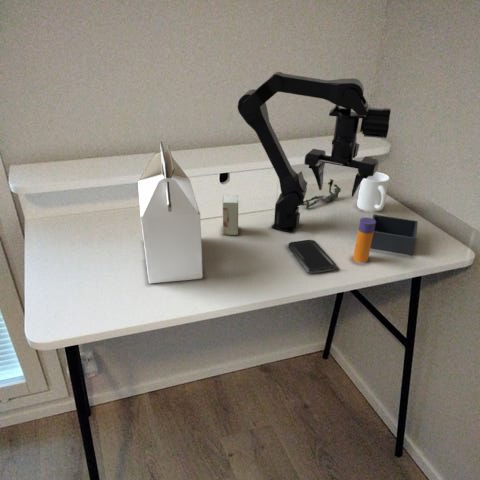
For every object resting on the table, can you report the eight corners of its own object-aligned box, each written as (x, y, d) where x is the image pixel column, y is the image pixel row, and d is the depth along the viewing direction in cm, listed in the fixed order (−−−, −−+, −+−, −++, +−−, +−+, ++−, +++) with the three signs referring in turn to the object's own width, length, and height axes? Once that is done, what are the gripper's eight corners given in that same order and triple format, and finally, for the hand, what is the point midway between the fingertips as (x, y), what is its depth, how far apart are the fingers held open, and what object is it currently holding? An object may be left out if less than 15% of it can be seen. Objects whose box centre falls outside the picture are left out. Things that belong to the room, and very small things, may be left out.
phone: (313, 239, 130) (337, 266, 119) (312, 242, 131) (336, 269, 119) (286, 242, 128) (308, 270, 117) (286, 246, 129) (308, 274, 117)
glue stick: (349, 259, 124) (356, 219, 117) (359, 255, 126) (367, 216, 119) (360, 265, 121) (368, 225, 114) (370, 261, 123) (379, 221, 116)
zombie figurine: (300, 183, 147) (337, 176, 154) (298, 204, 151) (334, 196, 158) (311, 189, 144) (348, 181, 150) (308, 210, 148) (345, 201, 154)
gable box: (203, 279, 115) (198, 167, 98) (148, 284, 113) (134, 170, 95) (192, 237, 132) (187, 135, 115) (145, 241, 130) (132, 138, 113)
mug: (392, 217, 145) (400, 185, 138) (368, 219, 143) (374, 187, 137) (375, 201, 154) (382, 170, 148) (352, 203, 152) (357, 172, 146)
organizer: (365, 249, 128) (369, 231, 125) (369, 231, 137) (373, 214, 133) (411, 257, 125) (416, 238, 122) (412, 238, 134) (417, 220, 130)
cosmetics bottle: (223, 226, 137) (223, 194, 131) (238, 227, 137) (238, 194, 131) (222, 235, 133) (222, 201, 127) (237, 235, 133) (238, 202, 127)
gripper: (388, 132, 122) (377, 189, 131) (320, 122, 128) (314, 177, 138) (378, 143, 114) (366, 203, 123) (306, 132, 120) (300, 190, 130)
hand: (336, 192), depth 129 cm, fingers open, 9 cm apart
